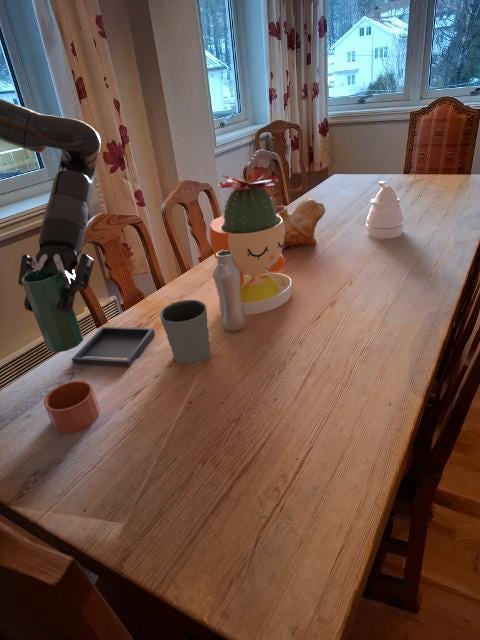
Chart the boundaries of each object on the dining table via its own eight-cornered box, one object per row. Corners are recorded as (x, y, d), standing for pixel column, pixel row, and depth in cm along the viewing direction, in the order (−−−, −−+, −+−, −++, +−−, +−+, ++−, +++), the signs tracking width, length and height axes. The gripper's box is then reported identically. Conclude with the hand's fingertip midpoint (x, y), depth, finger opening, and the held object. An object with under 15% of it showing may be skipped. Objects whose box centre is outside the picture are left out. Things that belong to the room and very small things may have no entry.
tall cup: (40, 351, 79) (12, 283, 72) (61, 332, 85) (37, 267, 78) (70, 353, 78) (45, 283, 71) (89, 333, 83) (67, 267, 76)
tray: (73, 365, 101) (71, 358, 100) (104, 333, 113) (102, 326, 112) (130, 369, 97) (128, 361, 96) (155, 335, 109) (153, 328, 108)
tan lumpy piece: (332, 242, 154) (332, 200, 146) (262, 255, 150) (258, 213, 142) (317, 231, 166) (316, 192, 158) (252, 243, 162) (248, 203, 154)
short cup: (44, 433, 81) (34, 409, 78) (70, 402, 89) (61, 379, 86) (85, 437, 79) (76, 412, 76) (108, 405, 87) (100, 382, 84)
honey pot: (359, 235, 157) (361, 185, 148) (375, 225, 165) (377, 177, 156) (393, 240, 149) (397, 187, 140) (408, 229, 157) (412, 179, 149)
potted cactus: (306, 292, 121) (302, 163, 104) (246, 322, 110) (231, 183, 93) (256, 273, 137) (245, 158, 119) (199, 298, 125) (178, 175, 108)
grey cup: (221, 349, 100) (215, 304, 94) (195, 373, 93) (186, 325, 87) (188, 340, 105) (180, 296, 100) (160, 361, 98) (150, 316, 92)
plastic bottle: (247, 332, 105) (239, 256, 96) (220, 335, 106) (209, 259, 96) (247, 320, 111) (238, 246, 101) (221, 322, 111) (210, 249, 102)
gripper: (18, 217, 78) (-3, 304, 74) (87, 214, 75) (69, 305, 71) (45, 235, 85) (27, 315, 81) (109, 233, 82) (94, 317, 78)
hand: (47, 310), depth 76 cm, fingers closed on tall cup, 6 cm apart
